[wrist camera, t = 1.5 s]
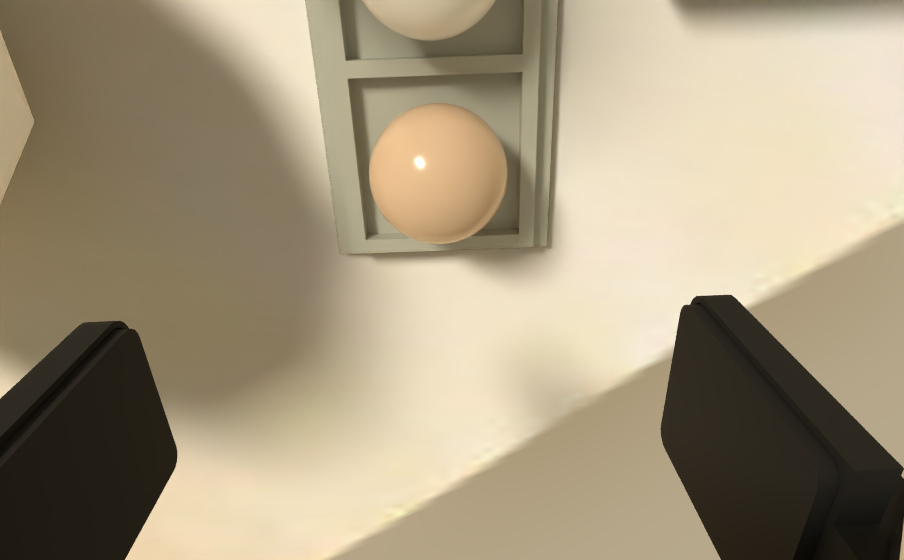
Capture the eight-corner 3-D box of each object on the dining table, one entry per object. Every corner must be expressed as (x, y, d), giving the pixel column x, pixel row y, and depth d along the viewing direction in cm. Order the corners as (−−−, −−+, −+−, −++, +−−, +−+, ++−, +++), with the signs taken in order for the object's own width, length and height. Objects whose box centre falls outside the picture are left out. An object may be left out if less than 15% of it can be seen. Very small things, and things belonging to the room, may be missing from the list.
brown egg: (501, 89, 22) (516, 115, 17) (501, 213, 24) (514, 264, 19) (370, 94, 22) (351, 121, 17) (382, 217, 24) (368, 269, 19)
